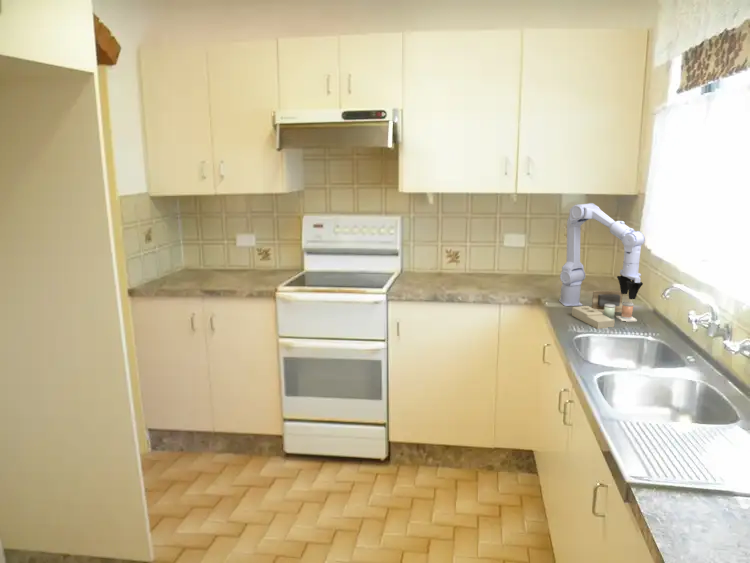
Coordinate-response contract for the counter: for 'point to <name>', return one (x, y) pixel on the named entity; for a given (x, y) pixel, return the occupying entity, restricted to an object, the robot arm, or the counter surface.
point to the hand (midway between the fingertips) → (628, 296)
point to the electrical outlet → (592, 317)
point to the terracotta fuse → (627, 310)
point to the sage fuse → (609, 310)
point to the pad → (626, 319)
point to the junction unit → (607, 300)
